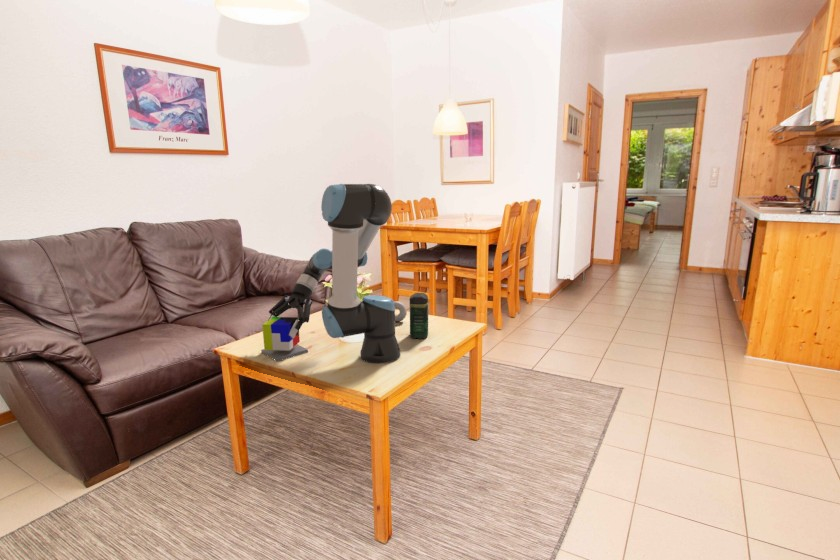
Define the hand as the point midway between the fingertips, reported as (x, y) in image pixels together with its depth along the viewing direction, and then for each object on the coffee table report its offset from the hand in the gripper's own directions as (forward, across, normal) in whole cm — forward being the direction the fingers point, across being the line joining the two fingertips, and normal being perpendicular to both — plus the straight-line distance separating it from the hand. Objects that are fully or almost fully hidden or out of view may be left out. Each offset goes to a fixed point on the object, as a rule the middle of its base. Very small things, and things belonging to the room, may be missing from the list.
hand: (278, 333), depth 174 cm
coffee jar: (-26, -36, -38) cm, 58 cm away
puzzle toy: (+3, 0, -5) cm, 6 cm away
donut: (-35, -15, -47) cm, 61 cm away
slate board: (+4, 0, -8) cm, 9 cm away
